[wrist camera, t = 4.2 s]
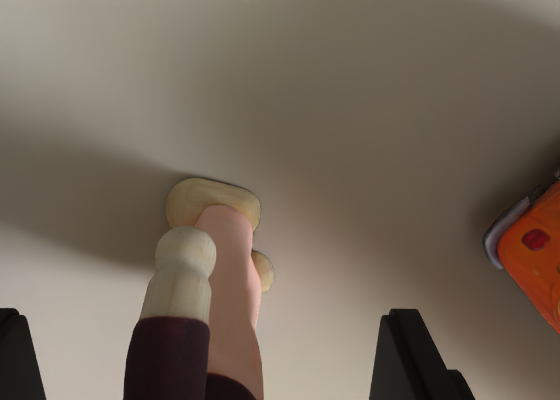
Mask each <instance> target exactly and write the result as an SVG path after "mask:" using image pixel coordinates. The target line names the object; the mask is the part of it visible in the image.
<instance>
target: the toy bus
mask: <svg viewBox="0 0 560 400" xmlns="http://www.w3.org/2000/svg"><path fill="white" fill-rule="evenodd" d="M553 175H554V176H555V177H557V178H558V179H559V178H560V167H558V168H556V169H554V171H553ZM541 187H542V185H538V186H537V187H535V188H534V189H532V190H531V191H530V193H529V194H528V196H532V195H533V194H534V193H535V192H536V191H537V190H538V189H540V188H541ZM483 248H484V250H485V253H486V256H487V258H488V259H489V260H490V262H491V263H492V264H493V265H494V266H495V267H496V268H498V269H506V270H507V271H508V272H509V274H510V275H511V276H512V277H513V279H514V281H515V282H516V283H517V285H518V286H519V288H520V289H521V290H522V291H523V292H524V293H525V294H526V295H527V296H528V297H529V298H530V300H531V302H532V303H533V304H534V306H535V307H536V308H537V310H538V311H539V312H540V313H541V315H542V316H543V317H544V318H545V319H546V321H547V322H548V323H549V324H550V325H551V326H552V327H553V328H554V329H555V330H556V331H557V332H558V333H559V334H560V180H557V181H556V182H555V183H553V184H552V186H551V187H550V188H549V189H548V190H547V191H546V192H545V194H543V195H542V196H541V197H540V198H538V199H537V200H536V201H534V203H532V204H531V202H530V201H529V198H528V197H526V199H525V198H524V199H523V200H521V201H517V202H516V203H515V205H513V206H512V207H511V208H509V209H508V210H506V211H505V212H503V213H502V214H501V215H500V216H499V217H498V219H497V220H495V222H494V223H493V224H492V226H491V227H490V228H489V230H488V231H487V232H486V234H485V235H484V237H483Z"/></svg>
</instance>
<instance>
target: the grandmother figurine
mask: <svg viewBox="0 0 560 400" xmlns="http://www.w3.org/2000/svg"><path fill="white" fill-rule="evenodd" d="M260 214H261V208H260V203H259V200H258V199H257V197H256V196H255V195H254V194H253V193H252V192H250V191H248V190H246V189H243V188H239V187H235V186H231V185H227V184H222V183H219V182H215V181H210V180H206V179H201V178H191V179H187V180H183V181H180V182H179V183H178V184H176V185H175V186H174V187H173V188H172V190H171V191H170V193H169V195H168V198H167V202H166V215H167V219H168V222H169V224H170V226H171V228H172V229H171V230H170V231H168V232H167V233H165V234H164V235H163V236H162V237H161V239H160V240H159V242H158V244H157V247H156V251H155V265H156V270H157V273H156V274H155V275H154V276H153V278H152V279H151V280H150V282H149V284H148V288H147V292H146V295H145V299H144V303H143V307H142V311H141V315H140V318H139V321H138V322H137V324H136V326H135V328H134V330H133V334H132V338H131V341H130V345H129V349H128V354H127V359H126V369H125V378H124V397H123V400H264V397H263V376H262V362H261V356H260V351H259V346H258V342H257V339H256V335H255V328H256V323H257V317H258V312H259V306H260V299H261V295H263V294H264V293H266V292H267V291H268V290H269V289H270V287H271V286H272V284H273V281H274V272H273V268H272V265H271V262H270V260H269V259H268V258H267V257H266V256H264V255H263V254H261V253H259V252H255V251H251V250H252V240H253V234H252V232H254V231H255V229H256V228H257V226H258V224H259V220H260Z"/></svg>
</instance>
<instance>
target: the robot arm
mask: <svg viewBox="0 0 560 400" xmlns="http://www.w3.org/2000/svg"><path fill="white" fill-rule="evenodd" d="M0 400H46V396H45V392H44V388H43V384H42V380H41V376H40V372H39V367H38V363H37V359H36V355H35V351H34V347H33V343H32V338H31V334H30V330H29V326H28V322H27V319H26V317H25V316H24V315H19V312H18V311H17V310H16V309H14V308H0ZM369 400H475V398H474V396H473V394H472V392H471V390H470V388H469V386H468V384H467V382H466V380H465V379H464V377H463V376H462V374H461V373H460V372H459V371H458V370H447V368H446V366H445V364H444V362H443V360H442V358H441V356H440V354H439V352H438V350H437V348H436V345H435V343H434V341H433V339H432V337H431V335H430V333H429V331H428V329H427V327H426V325H425V323H424V321H423V319H422V317H421V315H420V313H419V311H418V310H417V309H391V310H390V312H389V315H383V316H382V317H381V321H380V328H379V335H378V342H377V348H376V355H375V362H374V369H373V376H372V383H371V390H370V396H369Z"/></svg>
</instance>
